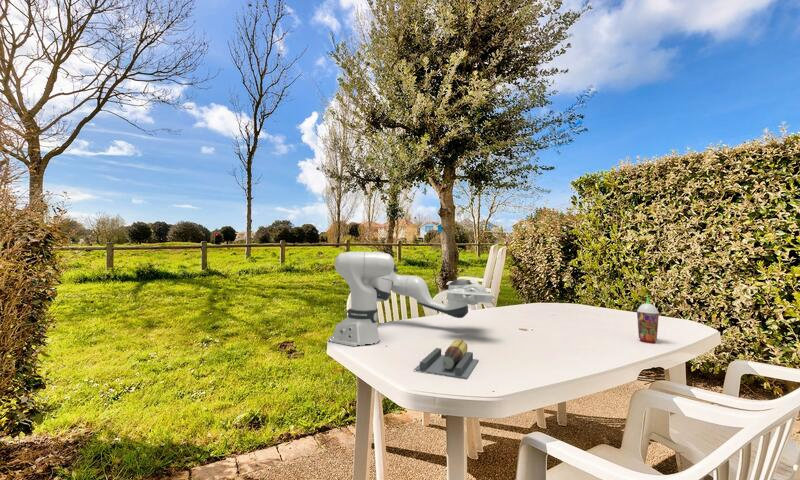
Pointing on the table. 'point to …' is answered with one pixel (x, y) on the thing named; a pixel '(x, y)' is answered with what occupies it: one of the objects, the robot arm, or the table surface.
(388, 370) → the table surface
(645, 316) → the smoothie
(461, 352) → the sauce bottle
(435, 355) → the holder
